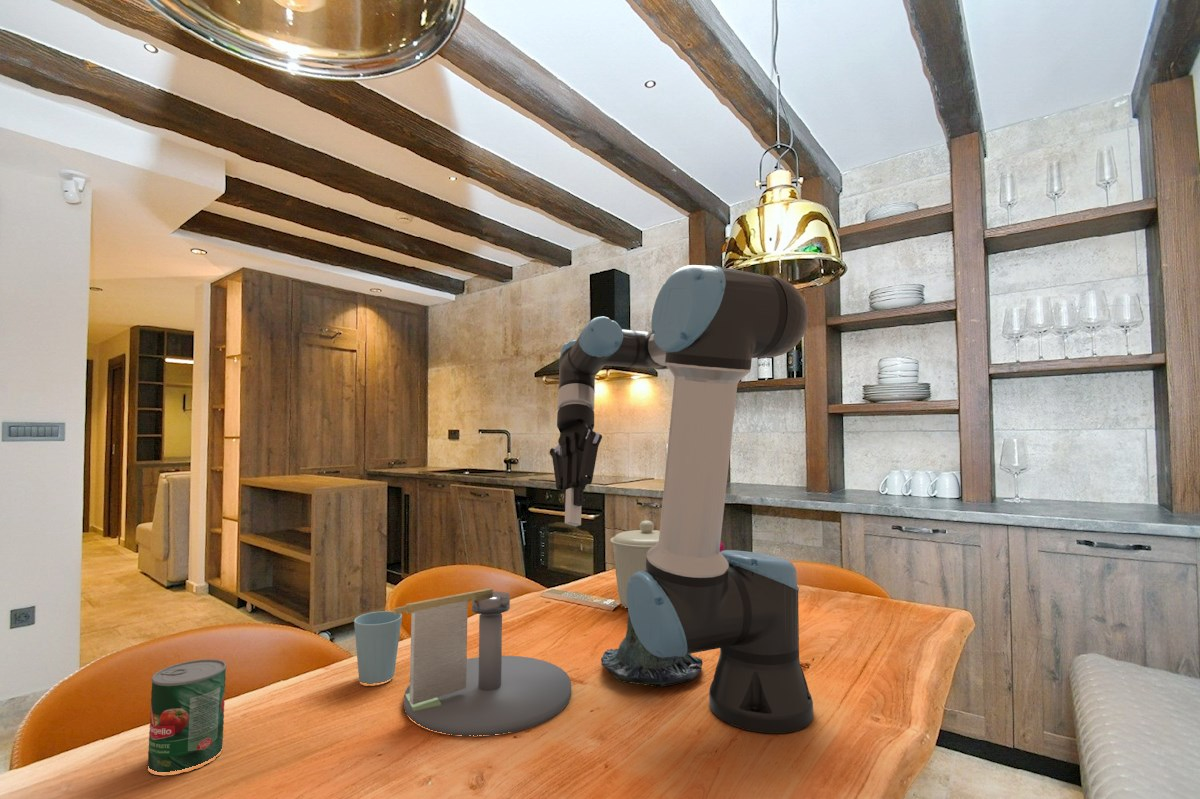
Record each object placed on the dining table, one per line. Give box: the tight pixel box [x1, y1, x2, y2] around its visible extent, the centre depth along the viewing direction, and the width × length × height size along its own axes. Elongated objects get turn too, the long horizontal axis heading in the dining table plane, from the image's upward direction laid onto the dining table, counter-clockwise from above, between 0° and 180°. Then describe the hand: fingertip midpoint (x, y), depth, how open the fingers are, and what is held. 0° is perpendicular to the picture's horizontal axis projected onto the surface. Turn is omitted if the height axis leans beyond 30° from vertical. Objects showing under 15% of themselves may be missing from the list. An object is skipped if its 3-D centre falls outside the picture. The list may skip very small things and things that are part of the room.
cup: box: [353, 610, 403, 684], centre depth 98 cm, size 8×8×10 cm
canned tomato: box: [147, 658, 227, 772], centre depth 74 cm, size 8×8×11 cm
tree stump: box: [600, 611, 703, 688], centre depth 102 cm, size 18×20×18 cm
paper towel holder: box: [403, 613, 572, 736], centre depth 92 cm, size 26×26×12 cm
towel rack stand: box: [393, 587, 511, 705], centre depth 88 cm, size 19×6×14 cm, turn 131°
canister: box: [609, 520, 660, 609], centre depth 141 cm, size 18×18×21 cm
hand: (572, 524), depth 105 cm, fingers closed
